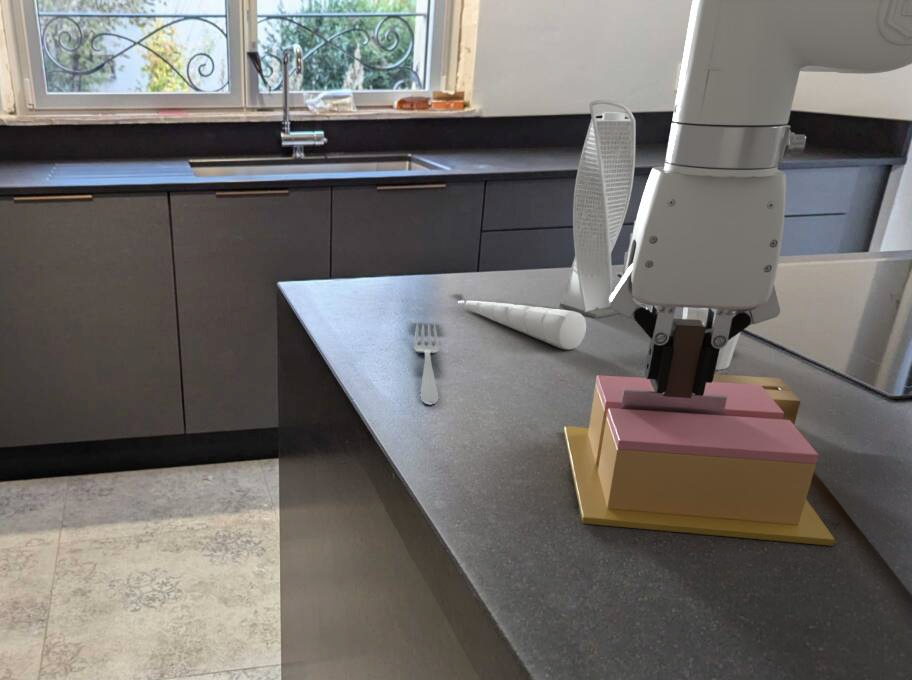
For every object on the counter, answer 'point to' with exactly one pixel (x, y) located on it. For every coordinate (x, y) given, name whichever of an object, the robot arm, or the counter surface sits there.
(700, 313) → the shot glass
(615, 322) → the counter surface
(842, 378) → the counter surface
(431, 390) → the fork
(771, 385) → the knife stand
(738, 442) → the cake
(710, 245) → the robot arm
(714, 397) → the knife
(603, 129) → the skyscraper
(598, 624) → the counter surface
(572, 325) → the unicorn horn
